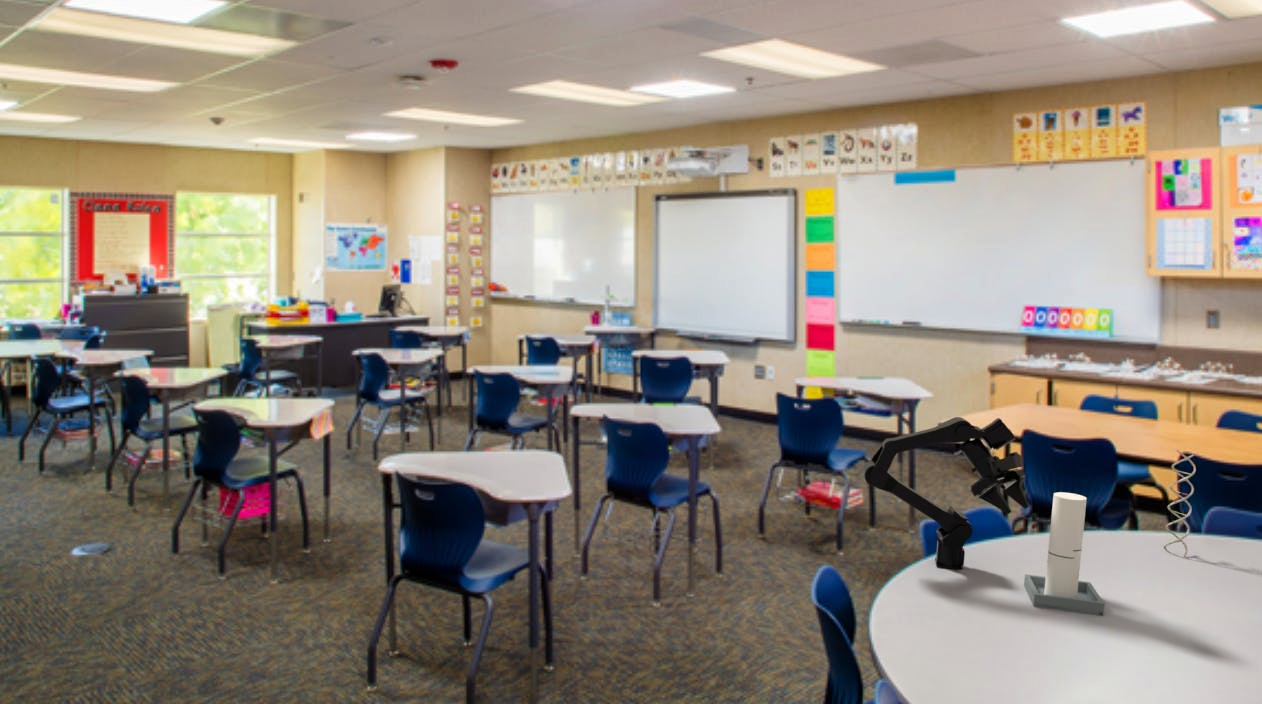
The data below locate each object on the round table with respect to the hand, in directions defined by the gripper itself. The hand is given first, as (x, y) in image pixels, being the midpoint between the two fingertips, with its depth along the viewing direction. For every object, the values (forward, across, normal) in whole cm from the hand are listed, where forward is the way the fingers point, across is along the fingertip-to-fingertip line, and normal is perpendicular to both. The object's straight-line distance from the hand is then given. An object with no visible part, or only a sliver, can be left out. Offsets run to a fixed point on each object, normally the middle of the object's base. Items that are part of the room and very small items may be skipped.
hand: (1018, 510), depth 226 cm
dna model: (+25, +65, +2) cm, 70 cm away
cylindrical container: (+22, -3, +3) cm, 23 cm away
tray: (+23, -3, +3) cm, 23 cm away
